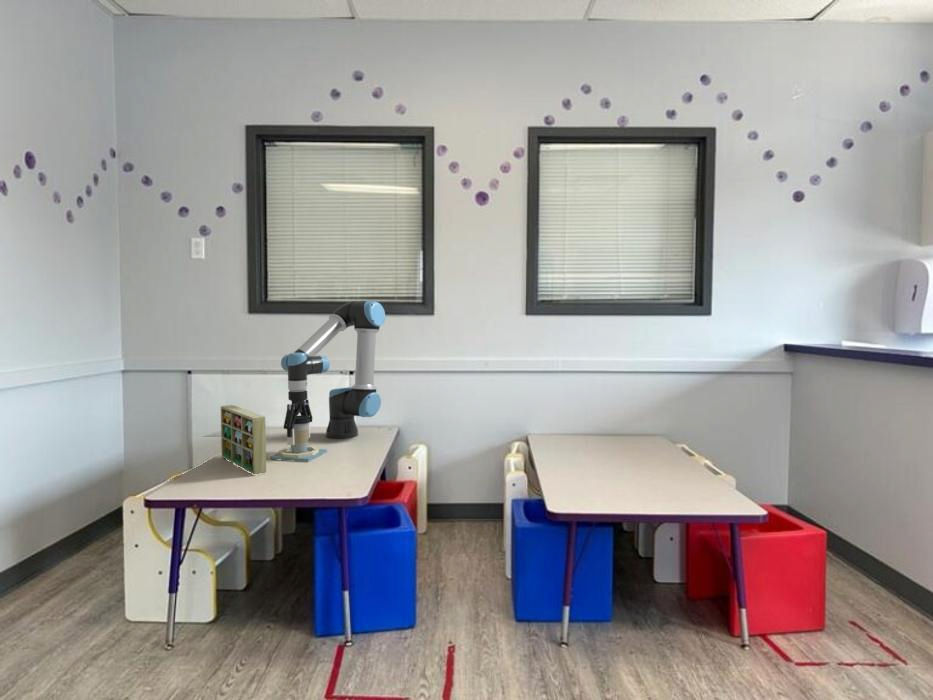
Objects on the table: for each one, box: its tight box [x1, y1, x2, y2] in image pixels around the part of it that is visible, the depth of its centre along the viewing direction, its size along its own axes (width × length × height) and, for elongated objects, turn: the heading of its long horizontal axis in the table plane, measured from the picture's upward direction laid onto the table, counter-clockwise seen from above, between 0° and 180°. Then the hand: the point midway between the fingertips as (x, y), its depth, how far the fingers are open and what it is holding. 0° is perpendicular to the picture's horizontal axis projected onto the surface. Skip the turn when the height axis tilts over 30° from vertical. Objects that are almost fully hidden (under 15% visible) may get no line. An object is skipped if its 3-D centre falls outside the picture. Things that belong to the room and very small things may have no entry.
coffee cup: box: [290, 415, 311, 454], centre depth 246 cm, size 9×9×15 cm
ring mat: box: [269, 445, 328, 463], centre depth 246 cm, size 17×17×2 cm
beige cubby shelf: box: [220, 404, 267, 474], centre depth 230 cm, size 35×5×22 cm, turn 41°
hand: (299, 441), depth 246 cm, fingers open, 13 cm apart
